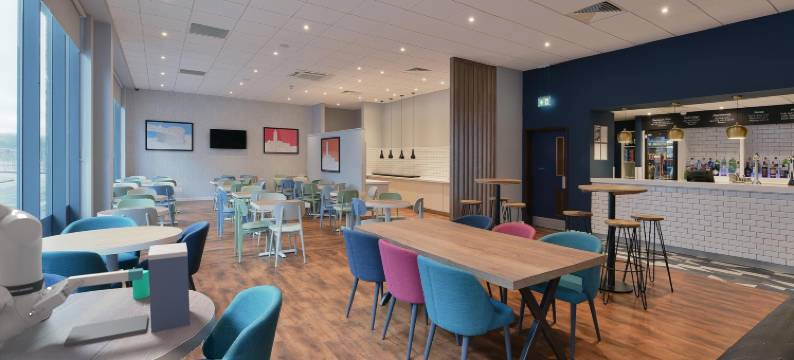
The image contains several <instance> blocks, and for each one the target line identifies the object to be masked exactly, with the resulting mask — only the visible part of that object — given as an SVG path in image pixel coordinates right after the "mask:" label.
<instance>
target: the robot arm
mask: <svg viewBox="0 0 794 360" xmlns="http://www.w3.org/2000/svg"><path fill="white" fill-rule="evenodd" d="M42 251H43V225H42V222H41V221H40V220H39V218H38V217H36V216H35V215H32V214H31V213H29V212H27V211H24V210H21V209H18V208H15V207H11V206H9V205H7V204H6V205H5V204H3V203H0V345H3V344H5V343H6V342H8V341H10V340H12V339H13V338H15V337H17V336H18V335H20V334H21V333H22V332H24V331H25V330H26V329H28V328H31V327H33V326H35V325H37V324H39V323H40V322H42V321H43V320H46V319H48V318H49V317H51V316H52V315H53V313H54V311H53V310H55V309H57V308H58V307H60V306H61V305H63V304H64V303H66V301H67V299H68V298H69V297H70V295H72V293H73V292H74V291H76V290H78V288H81V287H80V286H82V285H83V284H84V282H83V280H82V279H80V280H78V281H76V282H75V283H73V284H71V285H70V286H68V278H69V277H66V278H64V279H62V280H60V281H59V282H56V283H55V284H52V285H50V286H48V287H46V282H45V277H43V263H42Z"/></svg>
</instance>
